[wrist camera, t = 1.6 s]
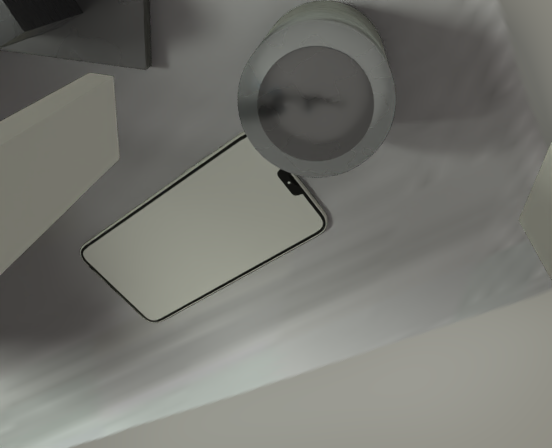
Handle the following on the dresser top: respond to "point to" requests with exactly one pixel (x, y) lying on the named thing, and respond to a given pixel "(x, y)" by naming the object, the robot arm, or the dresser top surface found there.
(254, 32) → the dresser top surface
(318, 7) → the cap
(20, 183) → the robot arm
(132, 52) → the dark grey holder
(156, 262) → the smartphone
